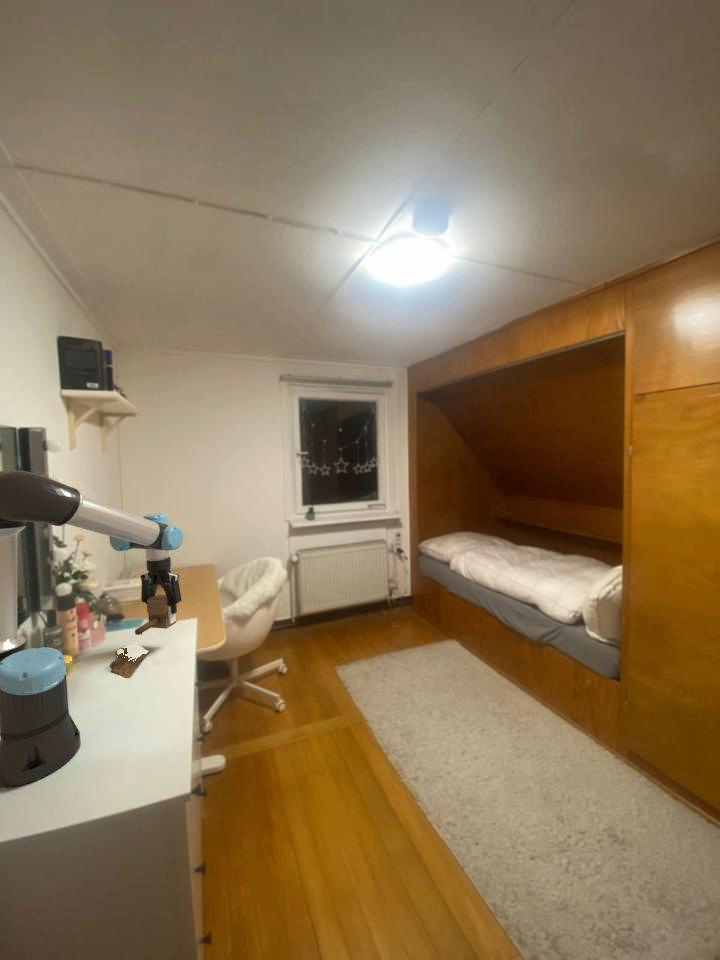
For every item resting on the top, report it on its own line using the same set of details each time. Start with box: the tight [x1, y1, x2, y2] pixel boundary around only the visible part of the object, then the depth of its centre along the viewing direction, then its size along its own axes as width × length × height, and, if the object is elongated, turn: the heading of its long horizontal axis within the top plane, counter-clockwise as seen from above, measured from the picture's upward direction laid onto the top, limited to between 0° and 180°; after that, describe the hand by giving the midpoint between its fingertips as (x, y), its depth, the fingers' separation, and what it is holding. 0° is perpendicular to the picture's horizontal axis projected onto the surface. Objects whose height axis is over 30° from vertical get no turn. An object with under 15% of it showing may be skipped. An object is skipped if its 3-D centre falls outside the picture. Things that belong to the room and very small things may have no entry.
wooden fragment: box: [109, 647, 149, 679], centre depth 129 cm, size 26×11×1 cm, turn 24°
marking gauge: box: [134, 593, 177, 636], centre depth 131 cm, size 14×7×10 cm, turn 168°
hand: (162, 621), depth 136 cm, fingers closed on marking gauge, 7 cm apart
